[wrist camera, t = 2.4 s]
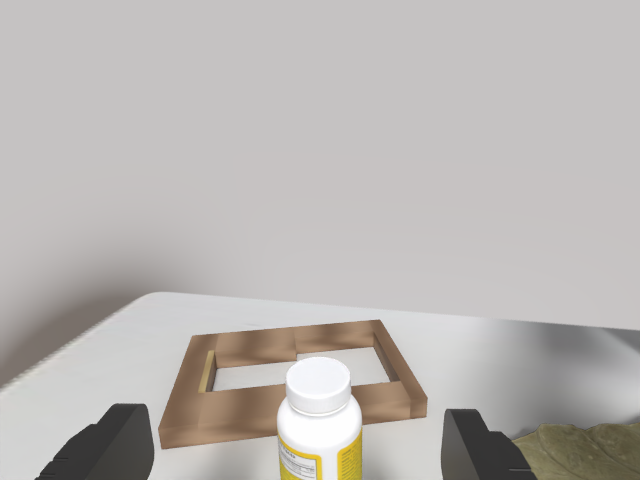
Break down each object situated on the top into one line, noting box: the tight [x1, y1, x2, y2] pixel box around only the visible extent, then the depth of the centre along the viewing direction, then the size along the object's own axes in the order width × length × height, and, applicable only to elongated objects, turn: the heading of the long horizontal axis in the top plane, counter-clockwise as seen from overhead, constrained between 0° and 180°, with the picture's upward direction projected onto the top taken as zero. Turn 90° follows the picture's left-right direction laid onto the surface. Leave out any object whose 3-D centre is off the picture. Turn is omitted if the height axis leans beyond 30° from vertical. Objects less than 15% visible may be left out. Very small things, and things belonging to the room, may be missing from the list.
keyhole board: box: [158, 320, 428, 449], centre depth 37 cm, size 22×14×2 cm, turn 98°
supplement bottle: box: [277, 357, 362, 480], centre depth 24 cm, size 5×5×10 cm
